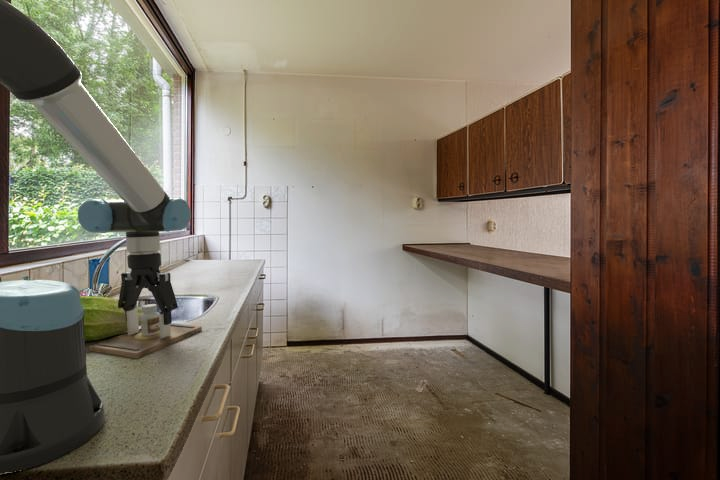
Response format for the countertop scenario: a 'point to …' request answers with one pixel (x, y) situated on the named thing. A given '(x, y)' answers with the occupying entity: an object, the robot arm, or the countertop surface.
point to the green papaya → (104, 317)
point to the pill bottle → (150, 320)
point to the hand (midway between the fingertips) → (149, 334)
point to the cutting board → (143, 342)
